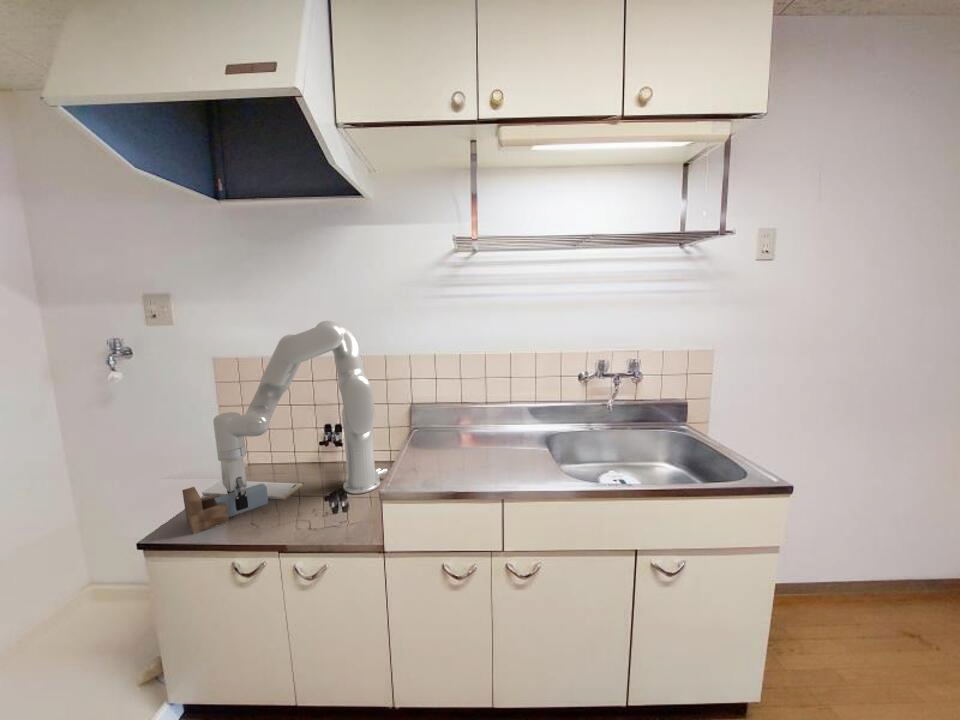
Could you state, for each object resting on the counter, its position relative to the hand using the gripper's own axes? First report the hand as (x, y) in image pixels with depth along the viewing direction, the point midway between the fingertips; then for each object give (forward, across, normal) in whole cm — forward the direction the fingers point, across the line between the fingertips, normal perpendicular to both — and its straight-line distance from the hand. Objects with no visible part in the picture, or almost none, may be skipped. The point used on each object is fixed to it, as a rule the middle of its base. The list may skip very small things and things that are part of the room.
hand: (238, 503), depth 129 cm
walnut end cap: (+2, 0, -8) cm, 9 cm away
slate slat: (+3, 0, +1) cm, 3 cm away
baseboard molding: (+3, -13, +8) cm, 15 cm away
